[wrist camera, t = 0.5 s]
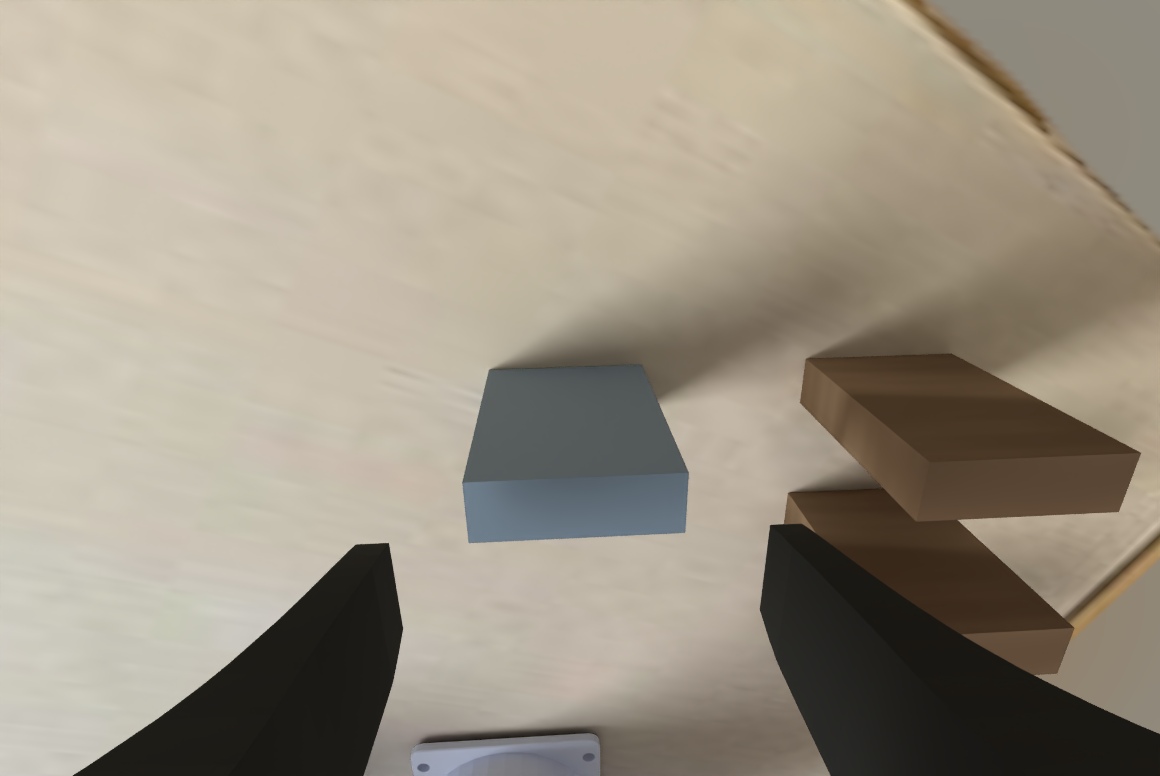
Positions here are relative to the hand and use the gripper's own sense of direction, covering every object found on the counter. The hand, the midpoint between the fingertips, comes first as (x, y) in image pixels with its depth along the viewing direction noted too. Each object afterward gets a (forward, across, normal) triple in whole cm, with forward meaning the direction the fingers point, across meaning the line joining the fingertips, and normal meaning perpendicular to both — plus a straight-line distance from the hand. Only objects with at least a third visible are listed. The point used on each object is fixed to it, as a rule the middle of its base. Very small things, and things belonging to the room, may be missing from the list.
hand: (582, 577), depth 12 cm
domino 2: (+9, -10, +5) cm, 15 cm away
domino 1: (+9, -10, 0) cm, 14 cm away
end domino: (+9, 0, 0) cm, 9 cm away
